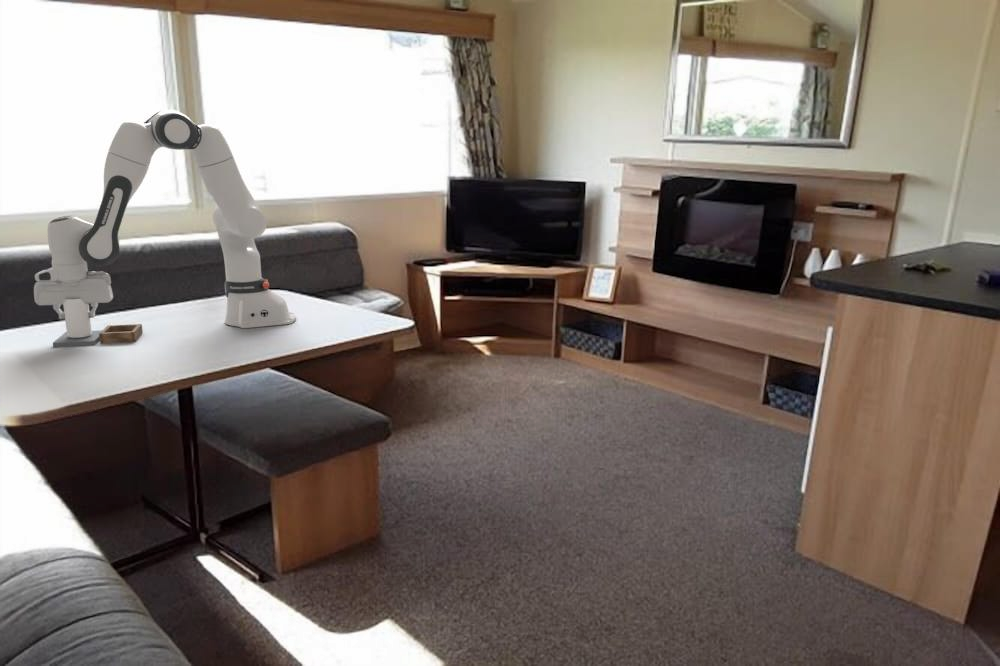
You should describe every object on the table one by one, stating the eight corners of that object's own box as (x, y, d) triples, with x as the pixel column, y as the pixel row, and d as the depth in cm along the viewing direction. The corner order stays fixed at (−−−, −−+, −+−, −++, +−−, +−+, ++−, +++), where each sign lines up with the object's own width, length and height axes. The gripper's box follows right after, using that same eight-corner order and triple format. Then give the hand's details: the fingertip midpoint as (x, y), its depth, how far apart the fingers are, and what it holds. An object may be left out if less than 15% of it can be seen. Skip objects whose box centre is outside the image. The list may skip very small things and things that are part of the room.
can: (96, 333, 222) (92, 294, 219) (83, 339, 216) (78, 299, 213) (76, 332, 223) (71, 293, 220) (62, 338, 217) (57, 298, 214)
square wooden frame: (142, 333, 228) (141, 323, 227) (135, 341, 219) (134, 332, 218) (109, 334, 226) (107, 325, 225) (100, 343, 217) (99, 333, 216)
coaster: (105, 333, 227) (105, 330, 227) (94, 344, 216) (94, 340, 215) (66, 335, 224) (65, 332, 224) (53, 346, 213) (52, 342, 213)
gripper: (112, 269, 220) (118, 313, 224) (36, 271, 215) (43, 317, 219) (106, 273, 214) (113, 318, 218) (28, 275, 209) (36, 322, 213)
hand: (77, 318), depth 218 cm, fingers closed on can, 6 cm apart
